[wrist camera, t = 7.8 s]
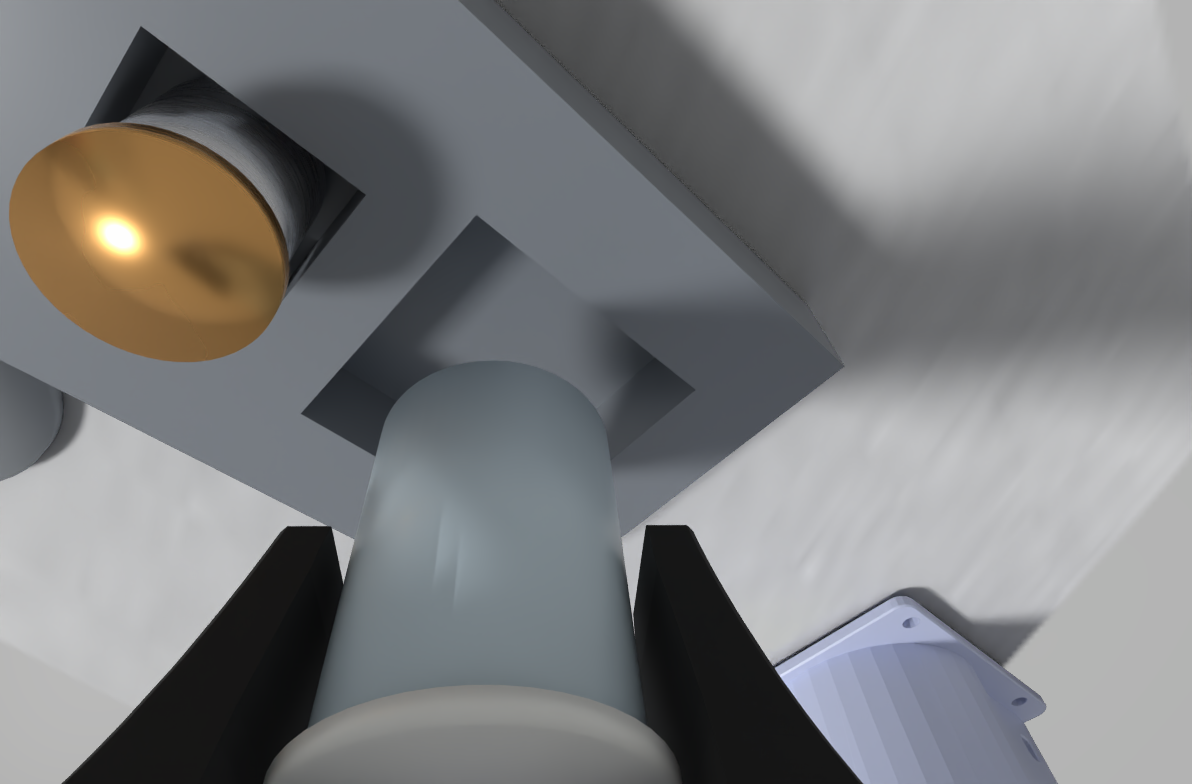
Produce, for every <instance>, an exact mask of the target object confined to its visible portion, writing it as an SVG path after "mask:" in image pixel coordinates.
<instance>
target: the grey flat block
mask: <svg viewBox="0 0 1192 784" xmlns="http://www.w3.org/2000/svg"><path fill="white" fill-rule="evenodd" d="M206 77H210V78H211V79H212V80H214V81H215V82H216V83H218V84H219V85H220V86H222V87H223V88H224V89H226V90H227V91H228V92H230V93H231V94H232V95H234V96H235V97H236V98H238V99H239V100H240V101H242V102H243V103H244V104H246V105H247V106H248V107H250V108H251V109H252V110H254V111H255V112H256V113H258V114H259V115H260V116H262V117H263V118H264V119H266V120H267V121H268V122H270V123H271V124H272V125H274V126H275V127H276V128H278V129H279V130H280V131H282V132H283V133H284V134H286V135H287V136H288V137H290V138H291V139H292V140H294V141H295V142H296V143H298V144H299V145H300V146H302V147H303V148H304V149H306V150H307V151H308V152H310V153H311V154H312V155H314V156H315V157H316V158H318V159H319V160H320V161H322V162H323V166H324V171H325V195H324V199H323V203H322V206H321V208H320V211H319V213H318V215H317V216H316V218H315V220H314V221H313V223H312V225H311V226H310V228H309V230H308V231H307V233H306V235H305V236H304V238H303V240H302V242H301V243H300V245H299V247H298V248H297V250H296V252H295V253H294V255H293V257H292V258H291V260H290V262H289V265H290V271H289V282H288V286H287V290H286V294H285V296H284V298H283V301H282V303H281V305H280V307H279V309H278V311H277V312H276V314H275V316H274V318H273V319H272V321H271V322H270V324H269V325H268V327H267V328H266V330H265V331H264V332H263V333H262V334H261V335H260V336H259V337H258V338H257V339H256V340H254V341H253V342H252V343H251V344H249V345H248V346H246V347H245V348H243V349H241V350H239V351H237V352H235V353H233V354H230V355H227V356H225V357H221V358H217V359H213V360H209V361H200V362H172V361H162V360H157V359H152V358H147V357H143V356H140V355H136V354H133V353H130V352H127V351H125V350H122V349H119V348H117V347H114V346H112V345H110V344H108V343H106V342H104V341H102V340H100V339H98V338H96V337H95V336H93V335H91V334H90V333H88V332H86V331H85V330H83V329H82V328H80V327H79V326H78V325H76V324H75V323H73V322H72V321H71V320H69V319H68V318H67V317H66V316H65V315H63V314H62V313H61V312H60V311H59V310H58V309H57V308H56V307H54V305H53V304H52V303H51V302H50V301H49V300H48V299H47V298H46V297H45V296H44V295H43V294H42V293H41V291H40V290H39V289H38V287H37V286H36V285H35V283H34V282H33V281H32V279H31V278H30V276H29V274H28V273H27V271H26V269H25V268H24V266H23V264H22V262H21V260H20V258H19V256H18V253H17V251H16V248H15V245H14V242H13V239H12V235H11V229H10V223H9V203H10V198H11V193H12V189H13V186H14V184H15V181H16V179H17V177H18V175H19V173H20V172H21V170H22V169H23V167H24V166H25V164H26V163H27V162H28V161H29V160H30V159H31V158H32V157H33V156H34V155H35V154H37V153H38V152H39V151H41V150H42V149H44V148H45V147H47V146H48V145H50V144H52V143H53V142H55V141H57V140H58V139H60V138H61V137H63V136H65V135H67V134H69V133H71V132H73V131H76V130H78V129H80V128H84V127H88V126H92V125H96V124H104V123H112V122H121V121H122V120H124V119H125V118H127V117H128V116H130V115H131V114H133V113H134V112H136V111H137V110H139V109H141V108H142V107H144V106H145V105H147V104H148V103H150V102H151V101H153V100H154V99H156V98H157V97H159V96H160V95H162V94H164V93H165V92H167V91H168V90H170V89H171V88H173V87H174V86H176V85H179V84H181V83H183V82H185V81H189V80H193V79H197V78H206ZM0 360H1V361H3V362H5V363H7V364H9V365H11V366H13V367H15V368H17V369H19V370H21V371H23V372H25V373H27V374H29V375H31V376H33V377H35V378H37V379H39V380H41V381H43V382H45V383H47V384H49V385H51V386H53V387H55V388H57V389H59V390H61V391H63V392H65V393H67V394H69V395H71V396H72V397H74V398H76V399H78V400H80V401H82V402H84V403H86V404H88V405H90V406H92V407H94V408H96V409H98V410H100V411H102V412H104V413H106V414H108V415H110V416H112V417H114V418H116V419H118V420H120V421H122V422H124V423H126V424H128V425H130V426H132V427H134V428H136V429H138V430H140V431H142V432H144V433H146V434H147V435H149V436H151V437H153V438H155V439H157V440H159V441H161V442H163V443H165V444H167V445H169V446H171V447H173V448H175V449H177V450H179V451H181V452H183V453H185V454H187V455H189V456H191V457H193V458H195V459H197V460H199V461H201V462H203V463H205V464H207V465H209V466H211V467H213V468H215V469H217V470H219V471H221V472H222V473H224V474H226V475H228V476H230V477H232V478H234V479H236V480H238V481H240V482H242V483H244V484H246V485H248V486H250V487H252V488H254V489H256V490H258V491H260V492H262V493H264V494H266V495H268V496H270V497H272V498H274V499H276V500H278V501H280V502H282V503H284V504H286V505H288V506H290V507H292V508H294V509H296V510H298V511H299V512H301V513H303V514H305V515H307V516H309V517H311V518H313V519H315V520H317V521H319V522H321V523H323V524H325V525H327V526H331V527H332V528H333V529H335V530H337V531H339V532H341V533H343V534H345V535H347V536H349V537H351V538H353V539H355V537H356V533H357V529H358V525H359V521H360V517H361V513H362V509H363V505H364V501H365V497H366V493H367V489H368V485H369V481H370V477H371V473H372V469H373V465H374V461H375V457H376V453H377V449H378V445H379V441H380V437H381V433H382V429H383V426H384V423H385V420H386V418H387V416H388V414H389V412H390V410H391V408H392V407H393V406H394V404H395V403H396V402H397V400H398V399H399V398H400V397H401V396H402V395H403V394H404V393H405V392H406V391H407V390H408V389H409V388H411V387H412V386H413V385H414V384H416V383H417V382H418V381H420V380H422V379H424V378H425V377H427V376H429V375H431V374H433V373H435V372H437V371H440V370H442V369H445V368H448V367H451V366H455V365H459V364H463V363H469V362H475V361H492V360H495V361H510V362H516V363H522V364H527V365H530V366H534V367H537V368H541V369H543V370H546V371H548V372H550V373H553V374H555V375H557V376H559V377H561V378H562V379H564V380H566V381H568V382H569V383H570V384H572V385H573V386H574V387H576V388H577V389H578V390H580V391H581V392H582V393H583V394H584V395H585V396H586V397H587V398H588V399H589V401H590V402H591V403H592V404H593V406H594V407H595V408H596V410H597V412H598V413H599V415H600V417H601V419H602V421H603V424H604V427H605V430H606V434H607V439H608V446H609V453H610V460H611V468H612V475H613V482H614V489H615V497H616V504H617V511H618V518H619V526H620V533H621V537H622V536H624V535H625V534H626V533H628V532H629V531H630V530H631V529H633V528H634V527H635V526H637V525H638V524H639V523H641V522H642V521H643V520H645V519H646V518H647V517H648V516H650V515H651V514H652V513H654V512H655V511H656V510H658V509H659V508H660V507H662V506H663V505H664V504H665V503H667V502H668V501H669V500H671V499H672V498H673V497H675V496H676V495H677V494H678V493H680V492H681V491H682V490H684V489H685V488H686V487H688V486H689V485H690V484H692V483H693V482H694V481H695V480H697V479H698V478H699V477H701V476H702V475H703V474H705V473H706V472H707V471H709V470H710V469H711V468H712V467H714V466H715V465H716V464H718V463H719V462H720V461H722V460H723V459H724V458H725V457H727V456H728V455H729V454H731V453H732V452H733V451H735V450H736V449H737V448H739V447H740V446H741V445H742V444H744V443H745V442H746V441H748V440H749V439H750V438H752V437H753V436H754V435H756V434H757V433H758V432H759V431H761V430H762V429H763V428H765V427H766V426H767V425H769V424H770V423H771V422H772V421H774V420H775V419H776V418H778V417H779V416H780V415H782V414H783V413H784V412H786V411H787V410H788V409H789V408H791V407H792V406H793V405H795V404H796V403H797V402H799V401H800V400H801V399H802V398H804V397H805V396H806V395H808V394H809V393H810V392H812V391H813V390H814V389H816V388H817V387H818V386H819V385H821V384H822V383H823V382H825V381H826V380H827V379H829V378H830V377H831V376H833V375H834V374H835V373H836V372H838V371H839V370H840V369H842V368H843V367H844V365H843V363H842V361H841V360H840V358H839V356H838V355H837V353H836V351H835V350H834V348H833V346H832V345H831V343H830V341H829V340H828V338H827V336H826V335H825V333H824V331H823V330H822V328H821V326H820V325H819V323H818V321H817V320H816V318H815V316H814V315H813V313H812V311H811V310H810V308H809V306H808V305H807V304H806V303H805V302H804V301H803V300H802V299H801V298H800V297H799V296H798V295H797V294H796V293H795V292H794V291H793V290H791V289H790V288H789V287H788V286H787V285H786V284H785V283H784V282H783V281H782V280H781V279H780V278H779V277H778V276H777V275H776V274H775V273H774V272H773V271H772V270H771V269H770V268H769V267H768V266H767V265H766V264H765V263H764V262H763V261H762V260H761V259H760V258H759V257H758V256H757V255H756V254H755V253H753V252H752V251H751V250H750V249H749V248H748V247H747V246H746V245H745V244H744V243H743V242H742V241H741V240H740V239H739V238H738V237H737V236H736V235H735V234H734V233H733V232H732V231H731V230H730V229H729V228H728V227H727V226H726V225H725V224H724V223H723V222H722V221H721V220H720V219H719V218H718V217H717V216H715V215H714V214H713V213H712V212H711V211H710V210H709V209H708V208H707V207H706V206H705V205H704V204H703V203H702V202H701V201H700V200H699V199H698V198H697V197H696V196H695V195H694V194H693V193H692V192H691V191H690V190H689V189H688V188H687V187H686V186H685V185H684V184H683V183H682V182H681V181H680V180H678V179H677V178H676V177H675V176H674V175H673V174H672V173H671V172H670V171H669V170H668V169H667V168H666V167H665V166H664V165H663V164H662V163H661V162H660V161H659V160H658V159H657V158H656V157H655V156H654V155H653V154H652V153H651V152H650V151H649V150H648V149H647V148H646V147H645V146H644V145H643V144H642V143H640V142H639V141H638V140H637V139H636V138H635V137H634V136H633V135H632V134H631V133H630V132H629V131H628V130H627V129H626V128H625V127H624V126H623V125H622V124H621V123H620V122H619V121H618V120H617V119H616V118H615V117H614V116H613V115H612V114H611V113H610V112H609V111H608V110H607V109H606V108H605V107H604V106H602V105H601V104H600V103H599V102H598V101H597V100H596V99H595V98H594V97H593V96H592V95H591V94H590V93H589V92H588V91H587V90H586V89H585V88H584V87H583V86H582V85H581V84H580V83H579V82H578V81H577V80H576V79H575V78H574V77H573V76H572V75H571V74H570V73H569V72H568V71H567V70H565V69H564V68H563V67H562V66H561V65H560V64H559V63H558V62H557V61H556V60H555V59H554V58H553V57H552V56H551V55H550V54H549V53H548V52H547V51H546V50H545V49H544V48H543V47H542V46H541V45H540V44H539V43H538V42H537V41H536V40H535V39H534V38H533V37H532V36H531V35H530V34H529V33H527V32H526V31H525V30H524V29H523V28H522V27H521V26H520V25H519V24H518V23H517V22H516V21H515V20H514V19H513V18H512V17H511V16H510V15H509V14H508V13H507V12H506V11H505V10H504V9H503V8H502V7H501V6H500V5H499V4H498V3H497V2H496V1H495V0H0Z"/></svg>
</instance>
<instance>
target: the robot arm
mask: <svg viewBox="0 0 1192 784" xmlns="http://www.w3.org/2000/svg"><path fill="white" fill-rule="evenodd" d="M342 588H343V580H342V575H341V571H340V566H339V561H338V556H337V551H336V546H335V541H334V537H333V532H332V527H331V526H287V527H286V528H285V529H284V530H283V531H281V532H280V534H279V535H278V536H277V538H276V539H275V540H274V542H273V543H272V544H271V546H270V547H269V548H268V550H267V551H266V552H265V554H264V555H263V556H262V558H261V559H260V560H259V562H258V563H257V564H256V566H255V567H254V568H253V570H252V571H251V572H250V573H249V575H248V576H247V577H246V579H245V580H244V581H243V583H242V584H241V585H240V586H239V588H238V589H237V590H236V591H235V593H234V594H233V595H232V596H231V598H230V599H229V600H228V601H227V603H226V604H225V605H224V607H223V608H222V609H221V610H220V612H219V613H218V614H217V615H216V616H215V618H214V619H213V620H212V621H211V622H210V624H209V625H208V626H207V627H206V628H205V630H204V631H203V632H202V633H201V634H200V636H199V637H198V638H197V639H196V640H195V642H194V643H193V644H192V645H191V646H190V648H189V649H188V650H187V651H186V652H185V654H184V655H183V656H182V657H181V658H180V659H179V661H178V662H177V663H176V664H175V665H174V666H173V667H172V669H171V670H170V671H169V672H168V673H167V674H166V675H165V676H164V677H163V679H162V680H161V681H160V682H159V683H158V684H157V685H156V686H155V687H154V688H153V690H152V691H151V692H150V693H149V694H148V695H147V696H146V697H145V698H144V699H143V700H142V702H141V703H140V704H139V705H138V706H137V707H136V708H135V709H134V710H133V711H132V713H131V714H130V715H129V716H128V717H127V718H126V719H125V720H124V721H123V723H122V724H121V725H120V726H119V727H118V728H117V729H116V730H115V731H114V732H113V733H112V734H111V735H110V736H109V737H108V738H107V739H106V740H105V741H104V742H103V743H102V744H101V745H100V746H99V747H98V748H97V749H96V750H95V751H94V753H92V754H91V755H90V756H89V757H88V758H87V760H85V761H84V762H83V763H82V764H81V765H80V766H79V767H78V768H77V769H76V770H75V771H74V772H73V773H72V774H71V776H69V777H68V778H67V779H66V780H65V781H64V782H63V783H62V784H263V782H264V779H265V775H266V772H267V770H268V769H269V767H270V765H271V763H272V762H273V760H274V758H275V757H276V756H277V755H278V754H279V753H280V751H281V750H282V749H283V748H284V747H285V746H286V745H287V744H288V743H289V742H290V741H292V740H293V739H294V738H295V737H297V736H298V735H299V734H300V733H302V732H303V731H304V730H306V729H307V728H308V724H309V720H310V716H311V712H312V708H313V704H314V700H315V696H316V692H317V688H318V684H319V680H320V676H321V672H322V668H323V664H324V660H325V656H326V652H327V648H328V644H329V640H330V636H331V632H332V628H333V624H334V620H335V616H336V612H337V608H338V604H339V600H340V596H341V592H342ZM633 616H634V629H635V642H636V649H637V656H638V663H639V671H640V678H641V685H642V692H643V700H644V707H645V714H646V721H647V726H648V727H649V728H651V729H652V730H653V731H654V732H655V733H656V734H657V735H658V736H660V737H661V738H662V739H663V740H664V741H665V742H666V744H667V745H668V747H669V748H670V749H671V751H672V752H673V753H674V755H675V758H676V760H677V762H678V765H679V767H680V773H681V779H682V784H1058V783H1057V782H1056V780H1055V778H1054V776H1053V774H1052V772H1051V771H1050V769H1049V767H1048V765H1047V763H1046V762H1045V760H1044V758H1043V756H1042V755H1041V753H1040V751H1039V749H1038V748H1037V746H1036V744H1035V742H1034V740H1033V738H1032V737H1031V735H1030V733H1029V731H1028V730H1027V728H1026V726H1025V724H1024V722H1026V721H1029V720H1031V719H1033V718H1035V717H1037V716H1039V715H1040V714H1042V713H1043V712H1044V711H1045V709H1046V704H1045V703H1044V701H1043V700H1042V698H1041V696H1040V695H1038V694H1037V693H1036V692H1035V691H1033V690H1032V689H1031V688H1029V687H1028V686H1027V685H1025V684H1024V683H1023V682H1021V681H1020V680H1018V679H1017V678H1016V677H1015V676H1013V675H1012V674H1011V673H1009V672H1008V671H1007V670H1005V669H1004V668H1003V667H1002V666H1000V665H999V664H998V663H996V662H995V661H994V660H992V659H991V658H990V657H988V656H987V655H986V654H984V653H983V652H982V651H980V650H979V649H978V648H976V647H975V646H974V645H972V644H971V643H970V642H969V641H967V640H966V639H965V638H963V637H962V636H961V635H959V634H958V633H957V632H955V631H954V630H953V629H951V628H950V627H949V626H947V625H946V624H945V623H943V622H942V621H941V620H939V619H938V618H937V617H936V616H934V615H933V614H932V613H930V612H929V611H928V610H926V609H925V608H924V607H922V606H921V605H920V604H918V603H917V602H916V601H914V600H913V599H912V598H909V597H907V596H897V597H893V598H891V599H889V600H887V601H886V602H884V603H882V604H881V605H879V606H877V607H876V608H874V609H872V610H871V611H869V612H867V613H866V614H864V615H862V616H861V617H859V618H857V619H856V620H854V621H852V622H851V623H849V624H847V625H846V626H844V627H842V628H841V629H839V630H837V631H836V632H834V633H832V634H831V635H829V636H827V637H826V638H824V639H822V640H821V641H819V642H817V643H816V644H814V645H812V646H811V647H809V648H807V649H806V650H804V651H802V652H801V653H799V654H797V655H796V656H794V657H792V658H791V659H789V660H787V661H786V662H784V663H782V664H781V665H779V666H777V667H776V668H774V667H773V665H772V664H771V663H770V661H769V660H768V658H767V657H766V655H765V654H764V652H763V651H762V649H761V647H760V646H759V644H758V643H757V641H756V640H755V638H754V637H753V635H752V634H751V632H750V631H749V629H748V627H747V626H746V624H745V623H744V621H743V620H742V618H741V617H740V615H739V613H738V612H737V610H736V608H735V607H734V605H733V603H732V602H731V600H730V598H729V597H728V595H727V593H726V592H725V590H724V588H723V586H722V585H721V583H720V581H719V580H718V578H717V576H716V574H715V572H714V571H713V569H712V567H711V565H710V563H709V561H708V560H707V558H706V556H705V554H704V552H703V550H702V548H701V546H700V544H699V542H698V540H697V538H696V536H695V534H694V532H693V531H692V530H691V529H690V528H689V527H688V526H687V525H646V529H645V536H644V543H643V550H642V557H641V564H640V571H639V578H638V585H637V592H636V599H635V606H634V613H633Z"/></svg>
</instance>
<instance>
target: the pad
mask: <svg viewBox="0 0 1192 784" xmlns="http://www.w3.org/2000/svg"><path fill="white" fill-rule="evenodd" d="M62 417H63V399H62V391H61V390H59V389H57V388H55V387H53V386H51V385H49V384H47V383H45V382H43V381H41V380H39V379H37V378H35V377H33V376H31V375H29V374H27V373H25V372H23V371H21V370H19V369H17V368H15V367H13V366H11V365H9V364H7V363H5V362H3V361H1V360H0V481H2V480H4V479H7V478H10V477H13V476H15V475H17V474H19V473H20V472H22V471H24V470H26V469H27V468H28V467H30V466H31V465H32V464H34V463H35V462H36V461H37V460H38V459H39V457H40V456H41V455H42V454H43V453H44V452H45V450H46V449H47V448H48V447H49V445H50V444H51V443H52V442H53V440H54V439H55V437H56V435H57V433H58V431H59V429H60V425H61V422H62Z"/></svg>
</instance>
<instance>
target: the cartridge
mask: <svg viewBox="0 0 1192 784" xmlns="http://www.w3.org/2000/svg"><path fill="white" fill-rule="evenodd" d="M263 784H682V779H681V773H680V767H679V765H678V762H677V760H676V758H675V755H674V753H673V752H672V751H671V749H670V748H669V747H668V745H667V744H666V742H665V741H664V740H663V739H662V738H661V737H660V736H658V735H657V734H656V733H655V732H654V731H653V730H652V729H651V728H649V727H648V726H647V721H646V714H645V707H644V700H643V692H642V685H641V678H640V671H639V663H638V656H637V649H636V642H635V634H634V627H633V620H632V613H631V605H630V598H629V591H628V584H627V576H626V569H625V562H624V555H623V547H622V540H621V533H620V526H619V518H618V511H617V504H616V497H615V489H614V482H613V475H612V468H611V460H610V453H609V446H608V439H607V434H606V430H605V427H604V424H603V421H602V419H601V417H600V415H599V413H598V412H597V410H596V408H595V407H594V406H593V404H592V403H591V402H590V401H589V399H588V398H587V397H586V396H585V395H584V394H583V393H582V392H581V391H580V390H578V389H577V388H576V387H574V386H573V385H572V384H570V383H569V382H568V381H566V380H564V379H562V378H561V377H559V376H557V375H555V374H553V373H550V372H548V371H546V370H543V369H541V368H537V367H534V366H530V365H527V364H522V363H516V362H510V361H495V360H492V361H475V362H469V363H463V364H459V365H455V366H451V367H448V368H445V369H442V370H440V371H437V372H435V373H433V374H431V375H429V376H427V377H425V378H424V379H422V380H420V381H418V382H417V383H416V384H414V385H413V386H412V387H411V388H409V389H408V390H407V391H406V392H405V393H404V394H403V395H402V396H401V397H400V398H399V399H398V400H397V402H396V403H395V404H394V406H393V407H392V408H391V410H390V412H389V414H388V416H387V418H386V420H385V423H384V426H383V429H382V433H381V437H380V441H379V445H378V449H377V453H376V457H375V461H374V465H373V469H372V473H371V477H370V481H369V485H368V489H367V493H366V497H365V501H364V505H363V509H362V513H361V517H360V521H359V525H358V529H357V533H356V537H355V541H354V544H353V548H352V552H351V556H350V560H349V564H348V568H347V572H346V576H345V580H344V584H343V588H342V592H341V596H340V600H339V604H338V608H337V612H336V616H335V620H334V624H333V628H332V632H331V636H330V640H329V644H328V648H327V652H326V656H325V660H324V664H323V668H322V672H321V676H320V680H319V684H318V688H317V692H316V696H315V700H314V704H313V708H312V712H311V716H310V720H309V724H308V728H307V729H306V730H304V731H303V732H302V733H300V734H299V735H298V736H297V737H295V738H294V739H293V740H292V741H290V742H289V743H288V744H287V745H286V746H285V747H284V748H283V749H282V750H281V751H280V753H279V754H278V755H277V756H276V757H275V758H274V760H273V762H272V763H271V765H270V767H269V769H268V770H267V772H266V775H265V779H264V782H263Z"/></svg>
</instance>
